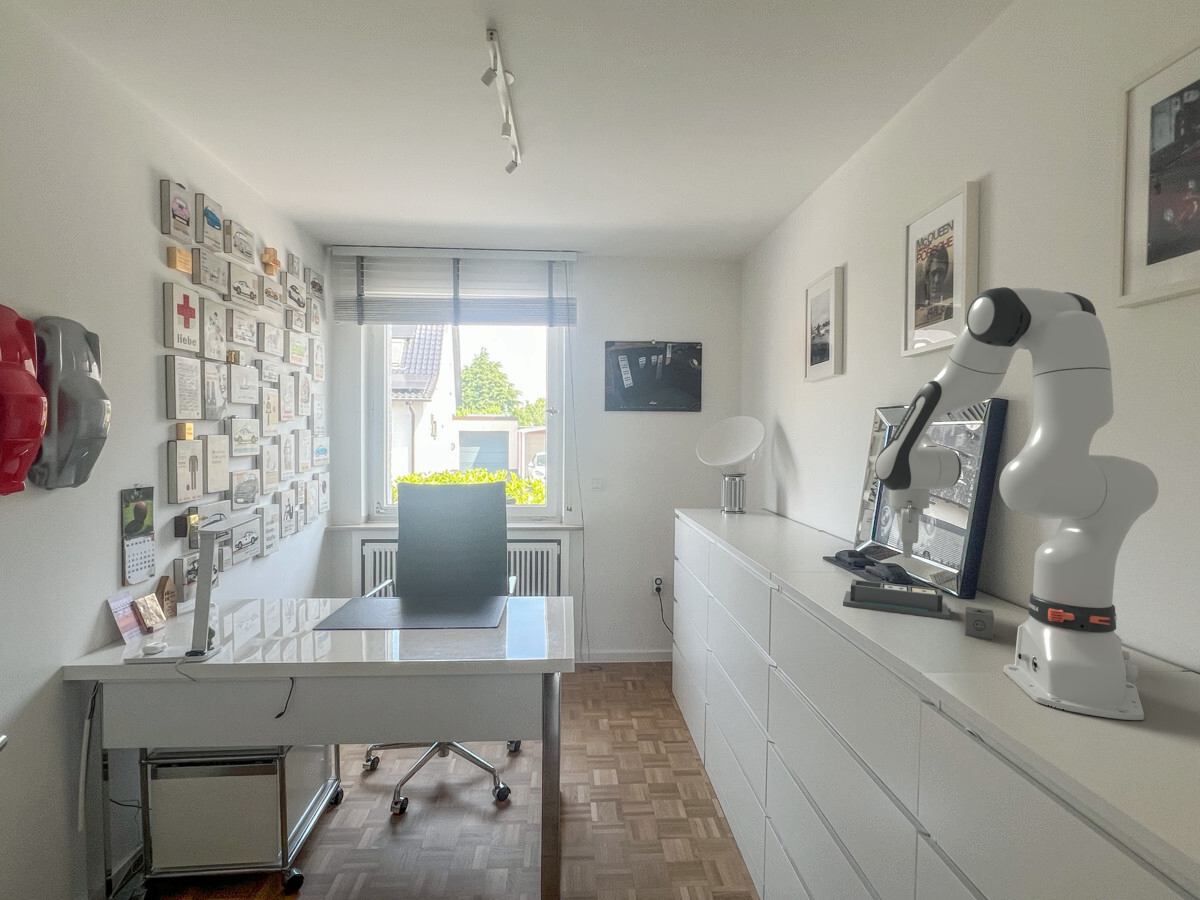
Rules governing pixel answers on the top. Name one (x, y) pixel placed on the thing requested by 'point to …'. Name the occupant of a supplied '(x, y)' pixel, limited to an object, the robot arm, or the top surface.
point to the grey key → (895, 587)
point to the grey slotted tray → (896, 599)
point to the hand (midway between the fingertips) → (907, 556)
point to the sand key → (923, 591)
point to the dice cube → (979, 622)
